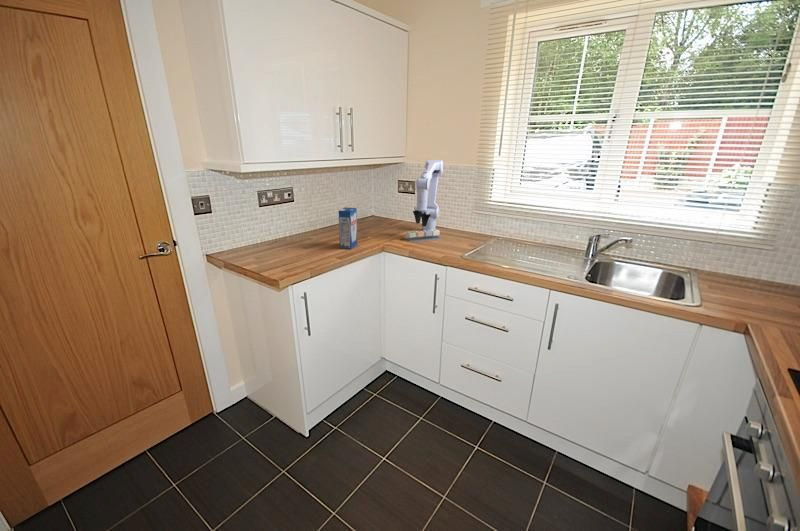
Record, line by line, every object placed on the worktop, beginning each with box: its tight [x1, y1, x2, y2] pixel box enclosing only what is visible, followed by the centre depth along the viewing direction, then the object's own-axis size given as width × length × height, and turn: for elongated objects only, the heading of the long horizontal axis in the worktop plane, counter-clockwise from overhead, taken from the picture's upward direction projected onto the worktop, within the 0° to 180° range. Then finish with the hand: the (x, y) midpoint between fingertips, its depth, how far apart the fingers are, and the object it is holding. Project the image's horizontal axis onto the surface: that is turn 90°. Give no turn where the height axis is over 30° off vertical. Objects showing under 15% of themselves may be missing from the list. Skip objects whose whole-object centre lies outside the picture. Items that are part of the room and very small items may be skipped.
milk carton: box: [338, 207, 358, 250], centre depth 180 cm, size 10×6×20 cm, turn 168°
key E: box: [406, 230, 416, 237], centre depth 194 cm, size 4×4×2 cm
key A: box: [430, 228, 441, 236], centre depth 200 cm, size 4×4×2 cm
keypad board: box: [403, 235, 444, 243], centre depth 198 cm, size 12×20×1 cm, turn 113°
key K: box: [422, 230, 432, 236], centre depth 198 cm, size 4×4×2 cm
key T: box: [414, 230, 424, 237], centre depth 196 cm, size 4×4×2 cm
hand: (421, 224), depth 194 cm, fingers open, 7 cm apart
